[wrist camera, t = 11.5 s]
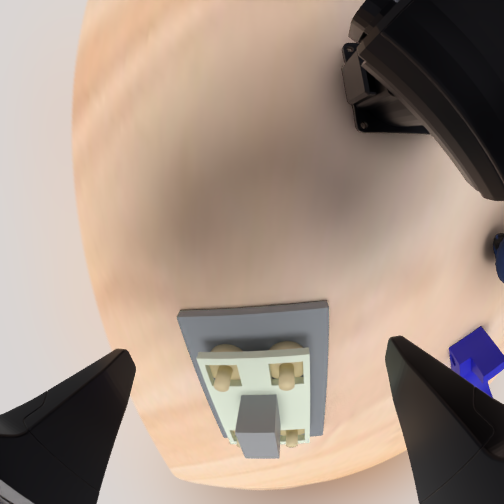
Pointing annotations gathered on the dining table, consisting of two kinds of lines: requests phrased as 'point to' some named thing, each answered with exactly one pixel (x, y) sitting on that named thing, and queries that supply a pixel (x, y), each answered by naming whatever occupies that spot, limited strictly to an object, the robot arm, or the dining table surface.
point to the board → (260, 385)
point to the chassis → (264, 348)
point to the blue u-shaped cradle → (477, 359)
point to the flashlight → (499, 255)
